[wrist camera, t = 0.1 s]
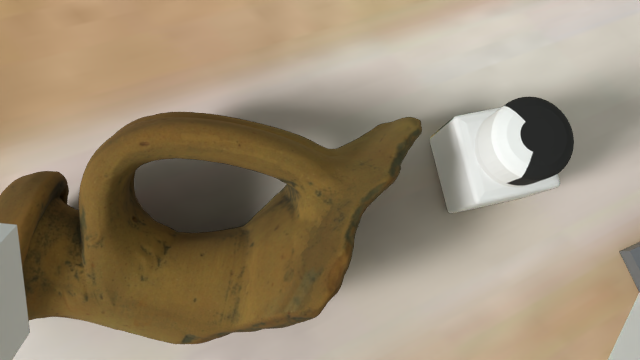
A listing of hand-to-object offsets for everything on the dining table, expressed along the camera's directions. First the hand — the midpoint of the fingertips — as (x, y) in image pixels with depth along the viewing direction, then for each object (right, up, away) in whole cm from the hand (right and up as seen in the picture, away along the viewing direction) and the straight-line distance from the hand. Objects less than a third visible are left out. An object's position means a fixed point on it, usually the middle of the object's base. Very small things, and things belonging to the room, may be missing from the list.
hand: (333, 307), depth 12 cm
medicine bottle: (+14, +4, +39) cm, 41 cm away
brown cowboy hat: (-9, -1, +36) cm, 37 cm away
